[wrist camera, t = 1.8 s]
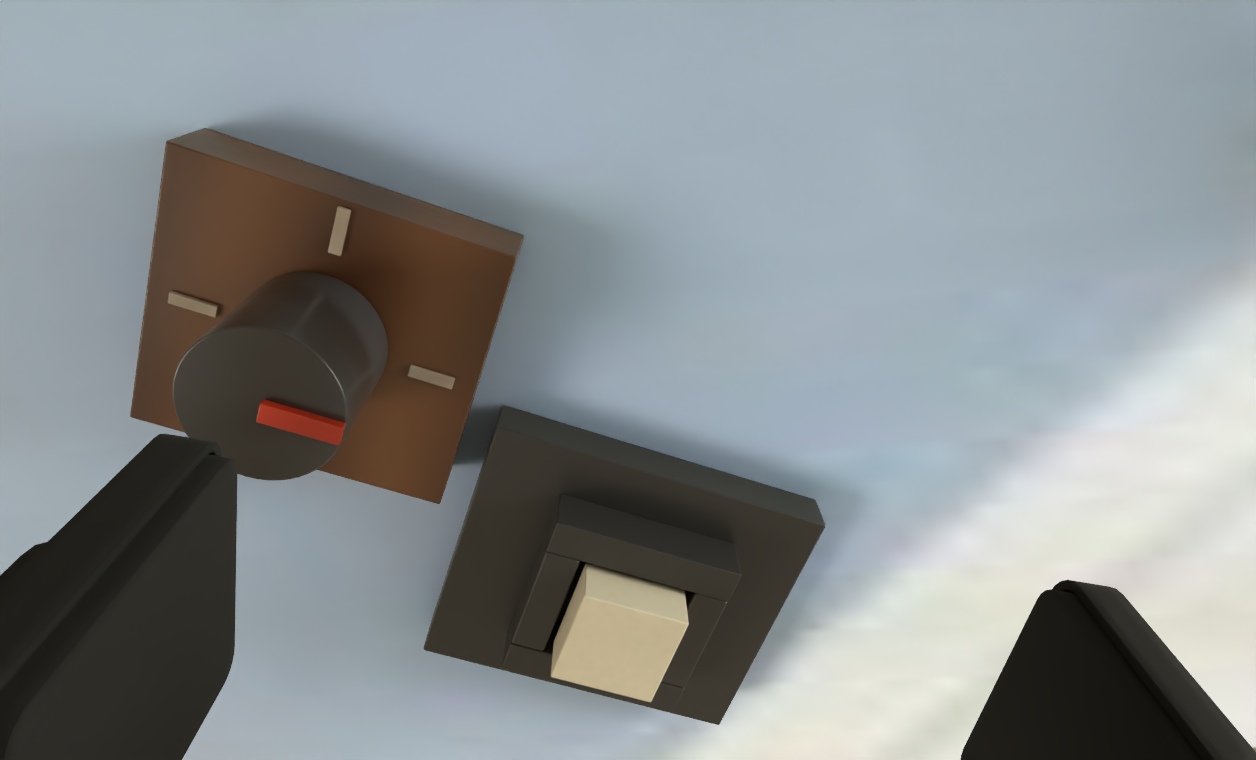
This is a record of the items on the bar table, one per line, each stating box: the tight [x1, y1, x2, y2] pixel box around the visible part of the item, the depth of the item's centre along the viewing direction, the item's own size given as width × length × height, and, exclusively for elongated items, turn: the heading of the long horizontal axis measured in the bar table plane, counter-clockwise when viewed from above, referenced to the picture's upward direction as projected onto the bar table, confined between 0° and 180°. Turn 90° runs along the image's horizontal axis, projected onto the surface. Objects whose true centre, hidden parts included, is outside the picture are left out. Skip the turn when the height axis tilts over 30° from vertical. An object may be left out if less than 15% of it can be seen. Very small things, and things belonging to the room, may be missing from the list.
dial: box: [172, 272, 388, 480], centre depth 24 cm, size 4×4×5 cm
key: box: [551, 563, 689, 702], centre depth 29 cm, size 4×4×2 cm
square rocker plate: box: [424, 405, 825, 725], centre depth 31 cm, size 12×10×4 cm
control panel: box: [130, 128, 524, 504], centre depth 27 cm, size 10×9×3 cm
